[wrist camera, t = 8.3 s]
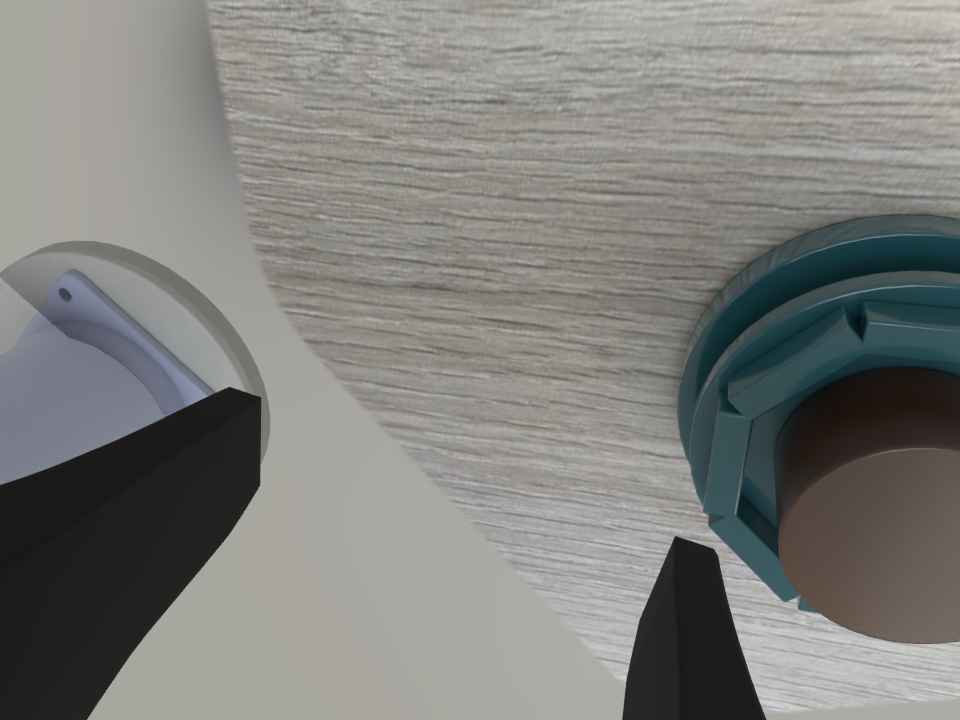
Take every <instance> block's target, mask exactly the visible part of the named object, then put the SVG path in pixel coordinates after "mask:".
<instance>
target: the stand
mask: <svg viewBox="0 0 960 720" xmlns="http://www.w3.org/2000/svg"><path fill="white" fill-rule="evenodd" d="M900 367H908V368H923V369H929V370H936V371H940V372H944V373H948V374H951V375H955V376H957V377H960V220H958V219H952V218H944V217H936V216H928V215H888V216H879V217H869V218H861V219H857V220H852V221H848V222H843V223H839V224H834V225H830V226H828V227H825V228H822V229H819V230H816V231H813V232H810V233H807V234H804V235H802V236H800V237H798V238H796V239H793V240H791V241H789V242H787V243H785V244H783V245H781V246H779V247H777V248H775V249H774V250H772V251H770V252H769V253H767V254H766V255H764V256H762V257H761V258H759V259H757V260H756V261H754V262H753V263H752V264H751V265H749V266H748V267H747V268H746V269H744V270H743V271H742V272H741V273H739V274H738V275H737V276H736V277H734V278H733V279H732V280H731V281H730V282H729V284H728V285H727V286H726V287H725V288H724V289H723V290H722V291H721V292H720V293H719V294H718V295H717V296H716V297H715V299H714V300H713V301H712V303H711V304H710V306H709V307H708V308H707V310H706V311H705V312H704V314H703V315H702V317H701V319H700V321H699V323H698V324H697V326H696V328H695V330H694V332H693V334H692V336H691V339H690V342H689V344H688V347H687V350H686V353H685V356H684V361H683V366H682V371H681V377H680V385H679V393H678V415H677V416H678V424H679V432H680V438H681V441H682V445H683V448H684V452H685V455H686V457H687V460H688V462H689V464H690V466H691V475H692V478H693V482H694V485H695V489H696V492H697V495H698V497H699V499H700V501H701V503H702V506H703V511H704V513H706V514H707V515H708V516H709V517H708V525H709V527H710V528H711V529H712V530H713V531H714V532H715V533H716V534H717V535H718V536H719V537H720V538H721V539H722V540H723V541H724V542H725V543H726V544H727V545H728V546H729V547H730V548H731V549H732V550H733V551H734V552H735V553H736V554H737V555H738V556H739V557H740V558H741V559H742V560H743V561H744V562H745V563H746V564H747V565H748V566H749V567H750V568H751V569H752V571H753V572H754V573H755V574H756V575H757V576H758V577H759V578H760V579H761V580H762V581H763V582H764V583H765V584H766V585H767V586H768V587H769V588H770V589H771V590H772V591H773V592H774V593H775V594H776V595H777V596H778V597H779V598H780V599H781V600H782V601H783V602H787V601H789V600H792V599H794V598H796V597H797V603H798V609H799V610H803V611H808V612H814V613H819V612H817V611H816V610H814V609H813V608H812V607H811V606H810V605H809V604H808V603H807V602H805V601H804V600H803V598H802V597H801V596H800V595H799V594H798V593H797V592H796V590H795V589H794V588H793V586H792V584H791V583H790V581H789V580H788V578H787V576H786V574H785V572H784V569H783V567H782V564H781V560H780V556H779V548H778V531H777V512H776V494H775V476H774V454H775V448H776V444H777V441H778V438H779V435H780V433H781V431H782V429H783V427H784V425H785V424H786V422H787V421H788V419H789V418H790V416H791V415H792V414H793V413H794V412H795V411H796V410H797V409H798V407H799V406H800V405H801V404H803V403H804V402H805V401H806V400H807V399H808V398H810V397H811V396H812V395H814V394H815V393H817V392H818V391H820V390H821V389H823V388H824V387H826V386H828V385H830V384H832V383H834V382H836V381H838V380H841V379H844V378H846V377H849V376H852V375H855V374H859V373H863V372H866V371H871V370H877V369H884V368H900ZM819 614H820V613H819Z"/></svg>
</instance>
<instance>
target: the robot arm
mask: <svg viewBox="0 0 960 720" xmlns="http://www.w3.org/2000/svg"><path fill="white" fill-rule="evenodd" d="M67 290H68V291H69V292H70V294H71V295H70V294H69V293H68V292H67ZM260 452H261V397H258V396H255V395H252V394H249V393H246V392H243V391H240V390H237V389H234V388H231V387H228V388H226V389H224V390H221V391H219V392H217V393H214V392H213V391H212V390H211V389H210V388H209V387H208V386H207V385H205V384H204V383H203V382H202V381H201V380H200V379H199V378H198V377H196V376H195V375H194V374H193V373H192V372H191V371H190V370H189V369H188V368H186V367H185V366H184V365H183V364H182V363H181V362H180V361H179V360H178V359H176V358H175V357H174V356H173V355H172V354H171V353H170V352H169V351H168V350H166V349H165V348H164V347H163V346H162V345H161V344H160V343H159V342H158V341H156V340H155V339H154V338H153V337H152V336H151V335H150V334H149V333H147V332H146V331H145V330H144V329H143V328H142V327H141V326H140V325H139V324H137V323H136V322H135V321H134V320H133V319H132V318H131V317H130V316H129V315H127V314H126V313H125V312H124V311H123V310H122V309H121V308H120V307H119V306H117V305H116V304H115V303H114V302H113V301H112V300H111V299H110V298H109V297H107V296H106V295H105V294H104V293H103V292H102V291H101V290H100V289H99V288H97V287H96V286H95V285H94V284H93V283H92V282H91V281H90V280H88V279H87V278H86V277H85V276H84V275H83V274H81V273H80V272H78V271H75V270H69V271H67V272H65V273H64V274H62V275H61V276H60V277H59V279H58V280H57V282H56V283H55V285H54V286H53V288H52V289H51V291H50V292H49V294H48V296H47V297H46V299H45V300H44V302H43V303H42V305H41V306H40V308H39V309H38V311H37V312H36V314H35V315H34V317H33V318H32V320H31V321H30V323H29V324H28V326H27V327H26V329H25V330H24V332H23V333H22V335H21V336H20V338H19V340H18V341H17V343H16V344H15V346H14V347H12V348H11V349H9V350H8V351H6V352H5V353H3V354H1V355H0V720H87V719H88V717H89V716H90V714H91V713H92V711H93V709H94V708H95V706H96V705H97V703H98V702H99V700H100V699H101V698H102V696H103V695H104V693H105V692H106V690H107V689H108V687H109V686H110V684H111V683H112V681H113V680H114V678H115V677H116V675H117V674H118V672H119V671H120V669H121V668H122V667H123V665H124V664H125V662H126V661H127V659H128V658H129V656H130V655H131V654H132V652H133V651H134V650H135V648H136V647H137V646H138V645H139V643H140V642H141V641H142V639H143V638H144V637H145V635H146V634H147V633H148V632H149V630H150V629H151V628H152V627H153V626H154V625H155V623H156V622H157V621H158V620H159V619H160V617H161V616H162V615H163V614H164V613H165V611H166V610H167V609H168V608H169V607H170V605H171V604H172V603H173V602H174V601H175V599H176V598H177V597H178V596H179V595H180V593H181V592H182V591H183V590H184V589H185V587H186V586H187V585H188V584H189V583H190V582H191V580H192V579H193V578H194V577H195V575H196V574H197V573H198V572H199V571H200V570H201V568H202V567H203V566H204V565H205V563H206V562H207V561H208V560H209V559H210V557H211V556H212V555H213V554H214V553H215V551H216V550H217V549H218V548H219V546H220V545H221V544H222V543H223V542H224V540H225V539H226V538H227V536H228V535H229V534H230V532H231V531H232V529H233V528H234V526H235V525H236V523H237V522H238V520H239V519H240V517H241V516H242V514H243V513H244V511H245V509H246V508H247V506H248V504H249V503H250V501H251V500H252V498H253V496H254V495H255V493H256V491H257V490H258V488H259V486H260ZM622 720H766V718H765V715H764V712H763V710H762V707H761V705H760V702H759V699H758V697H757V694H756V691H755V688H754V685H753V683H752V680H751V677H750V674H749V671H748V668H747V664H746V661H745V658H744V655H743V652H742V649H741V646H740V643H739V640H738V636H737V633H736V629H735V626H734V622H733V619H732V615H731V611H730V608H729V604H728V600H727V596H726V592H725V587H724V583H723V578H722V574H721V569H720V564H719V558H718V555H717V554H716V552H715V550H714V549H713V548H710V547H707V546H704V545H701V544H698V543H695V542H692V541H689V540H686V539H683V538H680V537H677V536H675V538H674V540H673V543H672V545H671V547H670V550H669V552H668V554H667V557H666V559H665V561H664V564H663V566H662V568H661V571H660V573H659V576H658V578H657V580H656V583H655V585H654V587H653V590H652V592H651V594H650V597H649V599H648V602H647V604H646V606H645V609H644V611H643V613H642V616H641V618H640V621H639V625H638V630H637V634H636V639H635V643H634V648H633V652H632V657H631V661H630V666H629V671H628V676H627V681H626V691H625V700H624V709H623V718H622Z"/></svg>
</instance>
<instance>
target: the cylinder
mask: <svg viewBox="0 0 960 720" xmlns="http://www.w3.org/2000/svg"><path fill="white" fill-rule="evenodd" d="M774 476H775V494H776V512H777V531H778V548H779V556H780V560H781V564H782V567H783V569H784V572H785V574H786V576H787V578H788V580H789V581H790V583H791V584H792V586H793V588H794V589H795V590H796V592H797V593H798V594H799V595H800V596H801V597H802V598H803V600H804V601H805V602H807V603H808V604H809V605H810V606H811V607H812V608H813V609H814V610H816V611H817V612H819V613H820V614H821V615H823V616H824V617H826V618H827V619H829V620H831V621H833V622H835V623H836V624H838V625H840V626H842V627H845V628H847V629H849V630H852V631H854V632H857V633H860V634H863V635H866V636H869V637H873V638H877V639H882V640H886V641H893V642H900V643H912V644H940V643H949V642H958V641H960V377H957V376H955V375H951V374H948V373H944V372H940V371H936V370H929V369H923V368H908V367H900V368H884V369H877V370H871V371H866V372H863V373H859V374H855V375H852V376H849V377H846V378H844V379H841V380H838V381H836V382H834V383H832V384H830V385H828V386H826V387H824V388H823V389H821V390H820V391H818V392H817V393H815V394H814V395H812V396H811V397H810V398H808V399H807V400H806V401H805V402H804V403H803V404H801V405H800V406H799V407H798V409H797V410H796V411H795V412H794V413H793V414H792V415H791V416H790V418H789V419H788V421H787V422H786V424H785V425H784V427H783V429H782V431H781V433H780V435H779V438H778V441H777V444H776V448H775V454H774Z"/></svg>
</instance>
